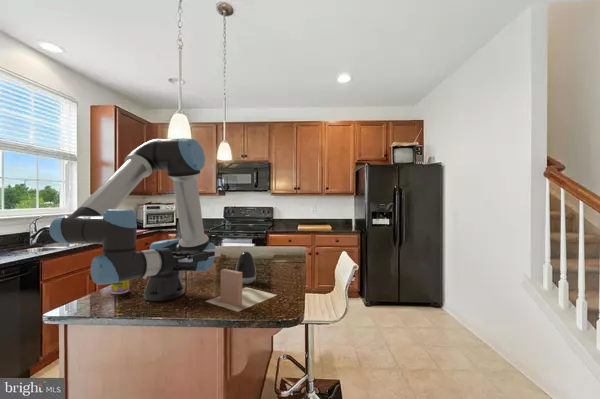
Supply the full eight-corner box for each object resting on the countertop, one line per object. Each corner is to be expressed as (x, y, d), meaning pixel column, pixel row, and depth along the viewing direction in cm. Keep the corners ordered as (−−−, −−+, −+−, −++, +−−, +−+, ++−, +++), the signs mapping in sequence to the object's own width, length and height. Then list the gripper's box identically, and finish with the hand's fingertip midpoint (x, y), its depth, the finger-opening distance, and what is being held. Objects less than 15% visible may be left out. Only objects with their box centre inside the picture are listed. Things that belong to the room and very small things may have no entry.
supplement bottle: (107, 294, 118) (107, 264, 118) (118, 289, 125) (118, 260, 125) (122, 294, 118) (122, 264, 118) (132, 290, 125) (133, 261, 125)
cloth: (237, 313, 98) (237, 311, 98) (205, 303, 109) (205, 301, 109) (277, 296, 117) (277, 294, 117) (246, 289, 127) (246, 287, 127)
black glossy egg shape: (255, 279, 143) (255, 249, 143) (256, 285, 133) (257, 253, 133) (235, 280, 141) (235, 250, 141) (234, 286, 131) (235, 253, 131)
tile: (238, 305, 104) (238, 273, 104) (220, 300, 110) (220, 269, 110) (242, 304, 106) (242, 272, 106) (224, 298, 112) (224, 268, 112)
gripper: (143, 271, 87) (207, 260, 106) (167, 278, 79) (231, 264, 99) (144, 247, 87) (208, 240, 106) (167, 251, 79) (231, 243, 99)
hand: (219, 252), depth 102 cm, fingers closed
